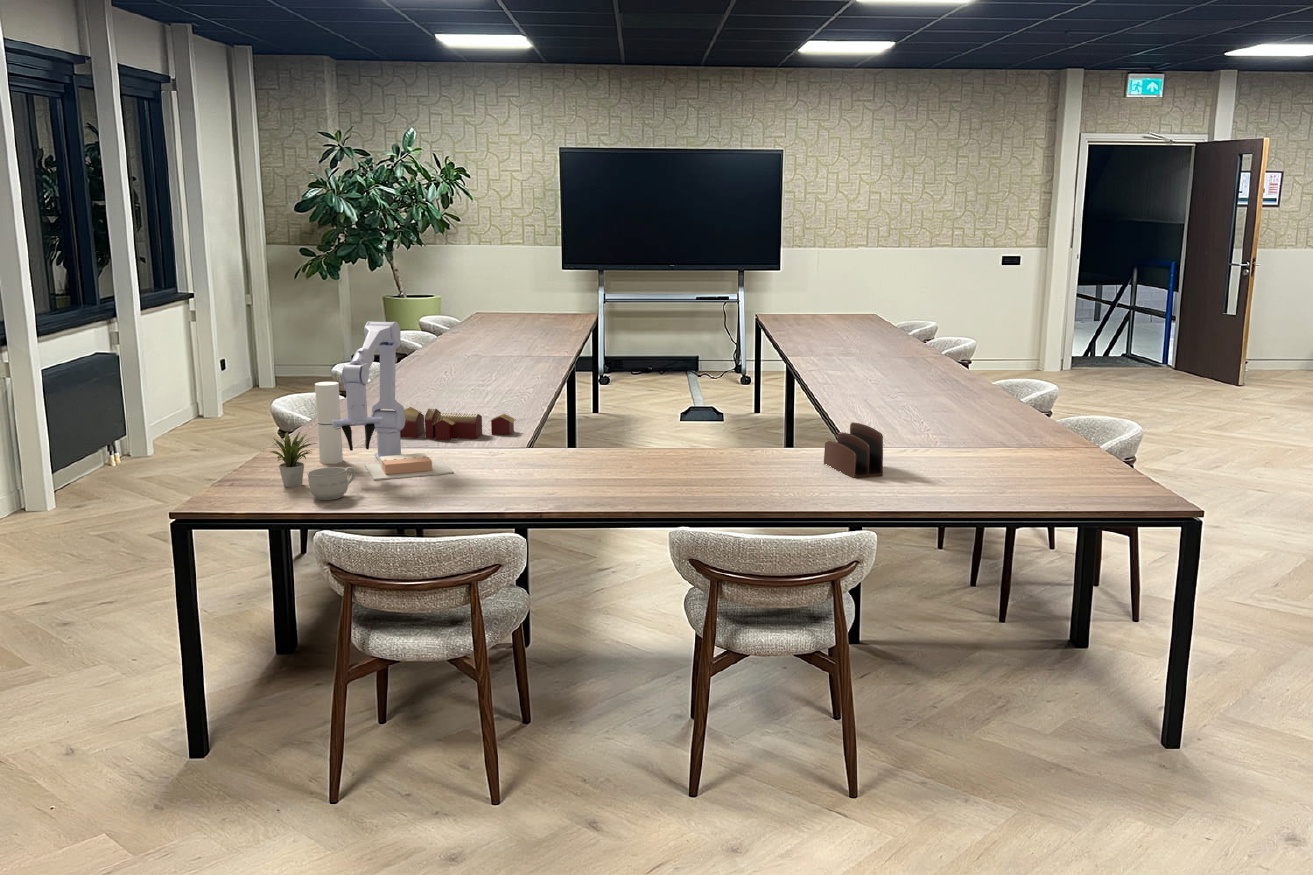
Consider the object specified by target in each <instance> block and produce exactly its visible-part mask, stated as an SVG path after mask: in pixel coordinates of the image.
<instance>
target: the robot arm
mask: <svg viewBox="0 0 1313 875" xmlns="http://www.w3.org/2000/svg"><path fill="white" fill-rule="evenodd" d="M363 333H364V336H365V339H364V342H363V344H362V347H360V348H358V349H357V350H356V351H355V353H354V355H353V357H352V359H351V360H350V363H349V364H346V365H344V366H343V367H342V370H341V380H342V383H343V389H344V390H345V392H346V394H345V396H346V410H347V413H346V414H347V418H341V419H340V420H332V426H333V428H337V427H341V431H343V433H344V435H345V438H346V440H347V443H348V447H349V451H354V448H353V440H352V439H353V437H352V436H353V433H352V432H353V430H352V427H355V426H356V427H358V426H364V434H365V438H364V439H365V442H364V445H365V449H366V450H369V449H370V444H371V439H372V436H373V433H374V432H375V433H376V441H377V442H376V443H377V452H376V453H374V456H375V457H376V459H377V460H378V461H379V457H381V456H393V455H403V454H402V446H401V437H400V430H402V429H403V428H404V426H405V414H404V410H405V408H404V406H403V405H402V404H401V403H400V402H398V401H397V400H396V351H397V350H396V349H398V348H400V347H401V337H402V336H401V333H402V332H401V327H400V324H399V323H398V322H397V321H371V320H368V321H367V322H366V323H365V325H364V330H363ZM377 349H378V351H379V400H378V401H377V402H376V403H374V405H372V407H371V414H370V416H368V404H367V403H368V402H367V383H368V382H369V377H370V372H371V371H370V368H371V367H372V364H373V362H374V360H375V355H374V353H375V352H376V350H377Z"/></svg>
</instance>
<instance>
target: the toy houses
mask: <svg viewBox="0 0 1313 875" xmlns="http://www.w3.org/2000/svg"><path fill="white" fill-rule="evenodd" d="M404 414H405V426H404V428H403V429H402V430H400V438H403V437H405V439H406V438H407V439H409V438H410V439H418V438H420V437H421V436H422V435H424V434H425V436H424V437H425V440H435V441H445V442H447V441H448V442H449V441H451V440H453V439H459V440H460V439H464V440H465V439H469V440H477V439H479V438H480V437H481V436H483V416H482V415H481V414H480V413H477V414H476V413H469V414H467V413H457V412H455V413H454V412H453V413H452V412H451V413H450V412H448V413H447V412H445V413H444V412H441V411H440V410H439V409H437V408H428V409H427V411H426V413H425V415H424V414H423V413H422V411H420V410H418V409H416V408H415V407H412V406H409V407H407V408H404ZM516 421H517V419H516V418H514V417H512V416H510V415H509V414H506V413H502V414H500V415H498V416H496V417H493V418H492V419H490V420H489V421H488V423H490V422H491V426H490V427H491V429H490V430H491V435H493V436H511V435H512V434H513V433H514V432H515V425H514V422H516Z"/></svg>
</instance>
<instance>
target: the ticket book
mask: <svg viewBox="0 0 1313 875" xmlns="http://www.w3.org/2000/svg"><path fill="white" fill-rule="evenodd" d="M420 457H429V456H428V455H427V454H426V453H425V452H420V453H408V454H407V453H406V454H402V455H393V456H381V457H379V460H378V461H379V464H380V467H381V469H382V470H383V464H382V461H384V460H396V459H408V458H420Z"/></svg>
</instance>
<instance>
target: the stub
mask: <svg viewBox="0 0 1313 875" xmlns="http://www.w3.org/2000/svg"><path fill="white" fill-rule="evenodd" d="M431 459H432V458H430V457H429V456H428V457H420V458H408V459H396V460H384V461H382V464H383V471H384V473H385V474H396V473H408V472H419V471H431V470H432V460H431Z"/></svg>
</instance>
